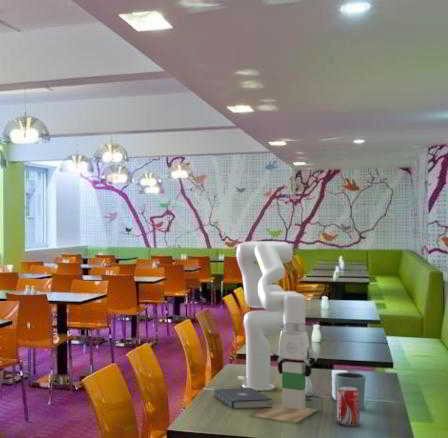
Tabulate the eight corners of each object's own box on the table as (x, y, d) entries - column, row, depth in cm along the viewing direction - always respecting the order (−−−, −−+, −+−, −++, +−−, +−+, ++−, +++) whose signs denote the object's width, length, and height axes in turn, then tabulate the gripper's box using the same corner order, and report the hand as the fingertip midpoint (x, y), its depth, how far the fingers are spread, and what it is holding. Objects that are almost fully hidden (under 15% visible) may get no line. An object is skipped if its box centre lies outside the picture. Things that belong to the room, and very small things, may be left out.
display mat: (250, 416, 270) (250, 415, 270) (274, 404, 287) (274, 403, 287) (296, 423, 260) (296, 422, 260) (317, 411, 278) (317, 409, 278)
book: (214, 396, 301) (213, 389, 301) (251, 395, 302) (251, 387, 302) (232, 409, 279) (232, 400, 280) (272, 407, 281) (271, 399, 281)
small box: (350, 402, 292) (350, 374, 292) (335, 401, 293) (335, 373, 293) (347, 397, 300) (347, 370, 300) (331, 396, 301) (331, 369, 301)
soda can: (333, 421, 263) (333, 386, 263) (353, 421, 263) (353, 385, 264) (342, 427, 256) (342, 390, 256) (363, 426, 256) (363, 390, 257)
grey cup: (365, 405, 286) (364, 373, 286) (366, 412, 276) (366, 378, 276) (335, 403, 289) (335, 371, 289) (336, 410, 279) (336, 376, 279)
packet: (282, 363, 282) (286, 361, 285) (282, 407, 282) (286, 405, 285) (301, 365, 277) (305, 363, 281) (301, 410, 277) (305, 407, 280)
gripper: (267, 326, 284) (267, 373, 284) (314, 330, 273) (314, 379, 273) (275, 324, 290) (275, 370, 290) (321, 328, 279) (321, 375, 279)
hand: (294, 374), depth 282 cm, fingers open, 9 cm apart
